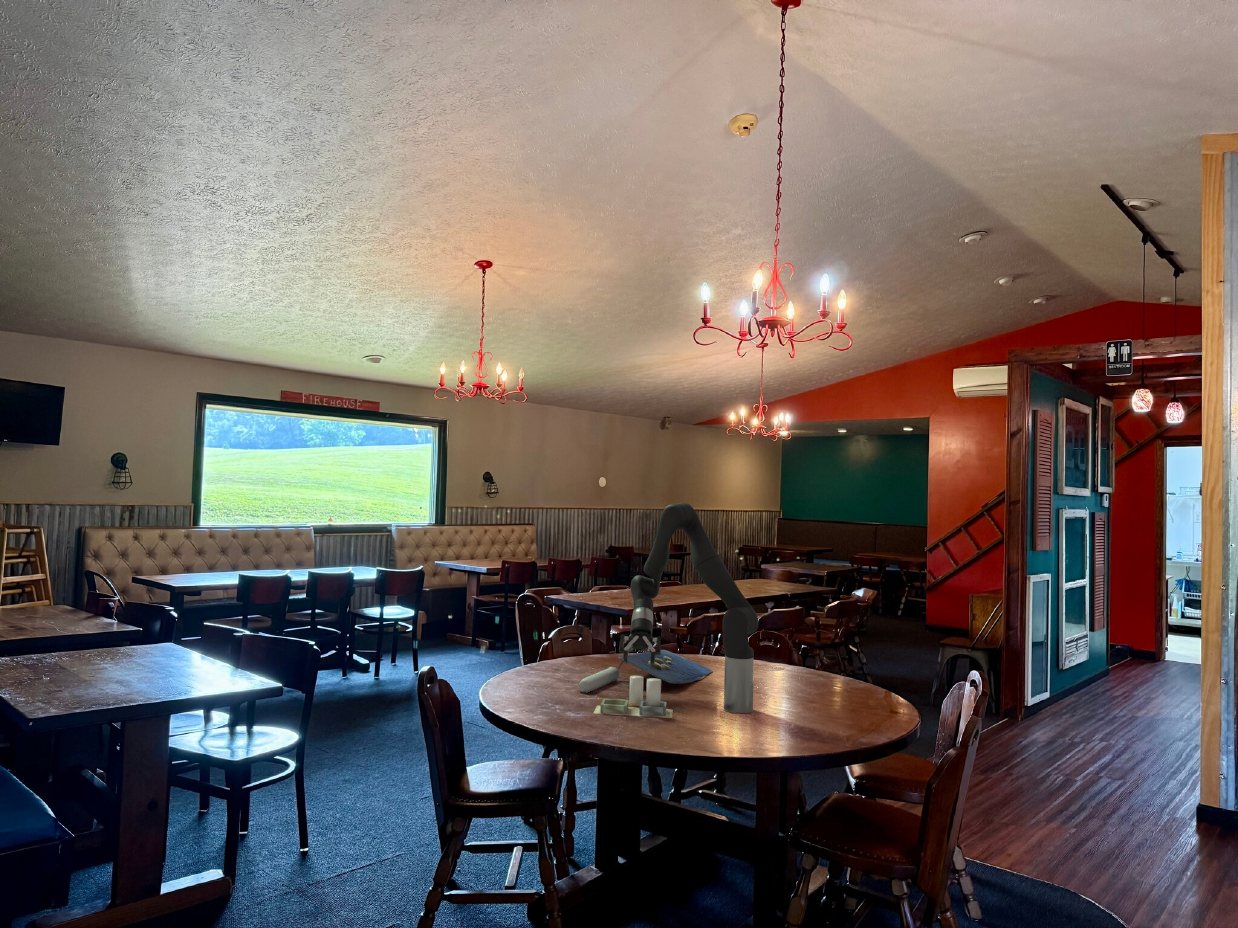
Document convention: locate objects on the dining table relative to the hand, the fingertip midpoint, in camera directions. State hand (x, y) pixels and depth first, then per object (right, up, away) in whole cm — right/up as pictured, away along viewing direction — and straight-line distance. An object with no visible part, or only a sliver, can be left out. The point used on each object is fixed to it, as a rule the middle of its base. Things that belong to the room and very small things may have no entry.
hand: (638, 662), depth 271 cm
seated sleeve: (+4, -10, -20) cm, 23 cm away
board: (-2, -12, -20) cm, 23 cm away
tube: (-14, -14, +20) cm, 28 cm away
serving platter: (+10, -15, +40) cm, 44 cm away
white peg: (-1, -12, -10) cm, 16 cm away
